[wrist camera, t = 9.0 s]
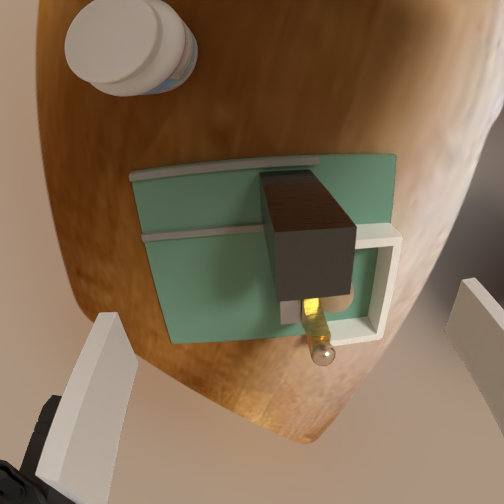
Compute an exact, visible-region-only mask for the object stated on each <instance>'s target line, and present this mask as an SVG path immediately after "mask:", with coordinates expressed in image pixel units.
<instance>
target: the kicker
mask: <svg viewBox="0 0 504 504" xmlns="http://www.w3.org/2000/svg"><path fill="white" fill-rule="evenodd" d="M259 181H260V197H261V214H262V223H263V229H264V234H265V239H266V245H267V250H268V256H269V261H270V267H271V272H272V278H273V283H274V289H275V294H276V300H277V302H278V303H279V318H280V324H281V325H282V324H292V323H300V320H301V324H302V328H303V331H305V334H306V338H307V342H308V346H309V350H310V354H311V358H312V360H313V362H314V363H315V364H317V365H319V366H327V365H329V364H330V363H332V362H333V360H334V358H335V354H336V353H335V349H334V347H333V346H332V345H331V344H330V339H331V333H330V330H329V327H328V324H327V321H326V318H325V316H324V313H323V310H322V307H321V304H320V301H319V298H323V297H332V296H341V295H350V290H351V282H352V274H353V264H354V255H355V244H356V233H357V226H356V225H355V224H354V222H353V221H352V220H351V219H350V217H349V216H348V215H347V213H346V212H345V211H344V210H343V208H342V207H341V206H340V205H339V204H338V202H337V201H336V200H335V199H334V197H333V196H332V195H331V194H330V193H329V191H328V190H327V189H326V188H325V186H324V185H323V184H322V183H321V182H320V181H319V179H318V178H317V177H316V176H315V175H314V173H313V172H312V171H311V170H310V169H304V170H284V171H268V172H259Z"/></svg>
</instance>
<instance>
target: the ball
mask: <svg viewBox="0 0 504 504" xmlns="http://www.w3.org/2000/svg"><path fill="white" fill-rule="evenodd" d="M353 298H354V288H353V285H352V283H351V290H350V295H341V296H332V297H323V298H319V301H320V304H321V307H322V309H323V310H325V311H327V312H331V313H338V312H341V311H343V310H345V309H346V308H348V307H349V306H350V304H351V303H352V301H353Z"/></svg>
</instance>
